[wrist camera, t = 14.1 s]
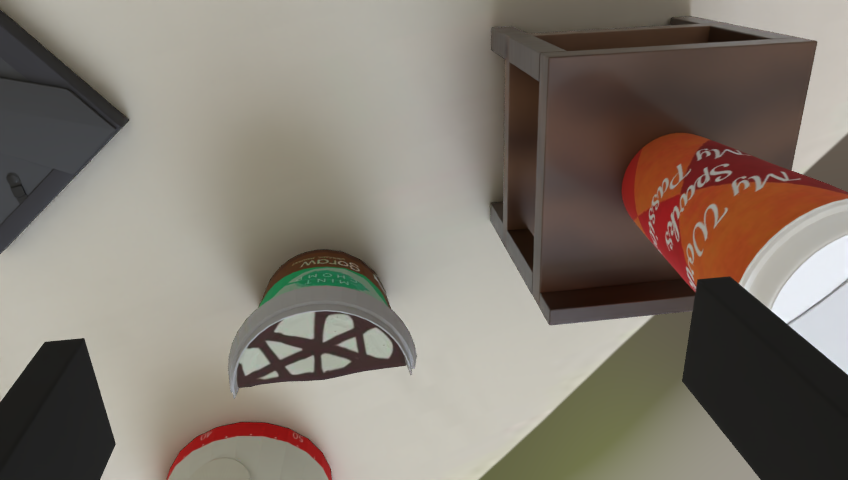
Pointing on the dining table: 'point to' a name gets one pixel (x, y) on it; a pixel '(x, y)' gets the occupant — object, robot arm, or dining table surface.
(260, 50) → the dining table surface
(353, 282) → the food container
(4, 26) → the picture frame
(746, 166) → the paper cup
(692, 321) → the robot arm
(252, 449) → the kitchen timer
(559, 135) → the rack
